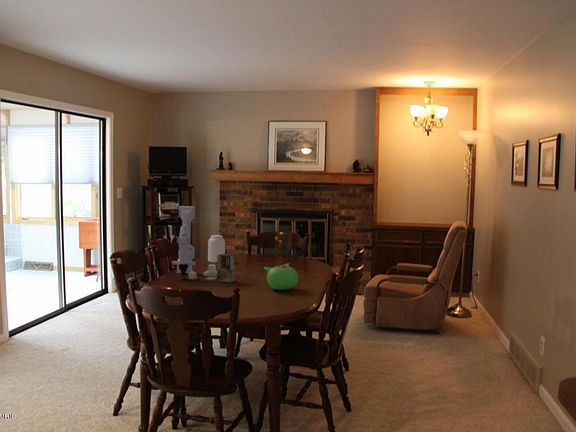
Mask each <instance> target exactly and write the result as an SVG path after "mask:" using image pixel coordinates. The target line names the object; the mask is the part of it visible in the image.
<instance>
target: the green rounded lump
mask: <svg viewBox="0 0 576 432" xmlns="http://www.w3.org/2000/svg"><path fill="white" fill-rule="evenodd" d="M263 270H265V271H266V272H267V275H266V281H267V284H268V285H269V286H270V287H271V288H272V289H275V290H278V291H285V290H290V289H292V288H294V287H295V286H296V285H297V284H298V281H299V274H298V272H297V270H296V269H294V268H293V267H292V266H290V263H289V262H288V263H285V264H282V265H277V266H274V267H267V266H264V267H263Z"/></svg>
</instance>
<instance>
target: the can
mask: <svg viewBox="0 0 576 432" xmlns="http://www.w3.org/2000/svg"><path fill="white" fill-rule="evenodd" d="M207 243H208V244H207V246H208V247H207V251H208V252H207V261H208V262H210V263H214V264H215V263H216V264H217V256H218V255H220V254H226V240H225V239H224V237H223V235H222V234H211V236H210V238H209V239H208V242H207Z"/></svg>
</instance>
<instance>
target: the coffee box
mask: <svg viewBox="0 0 576 432" xmlns="http://www.w3.org/2000/svg"><path fill="white" fill-rule="evenodd" d="M216 268H217V270H216V271H217V279H216V281H217V282H221V283H232V282H234V281H235V254H228V253H227V254H226V253H225V254H220V255H218V256H217V263H216Z"/></svg>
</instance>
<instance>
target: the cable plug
mask: <svg viewBox="0 0 576 432" xmlns="http://www.w3.org/2000/svg"><path fill="white" fill-rule="evenodd" d="M187 274H188V275H187V276H188V277H187V279H188V280H197V279H198V276H197V272H190V273H187Z"/></svg>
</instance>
